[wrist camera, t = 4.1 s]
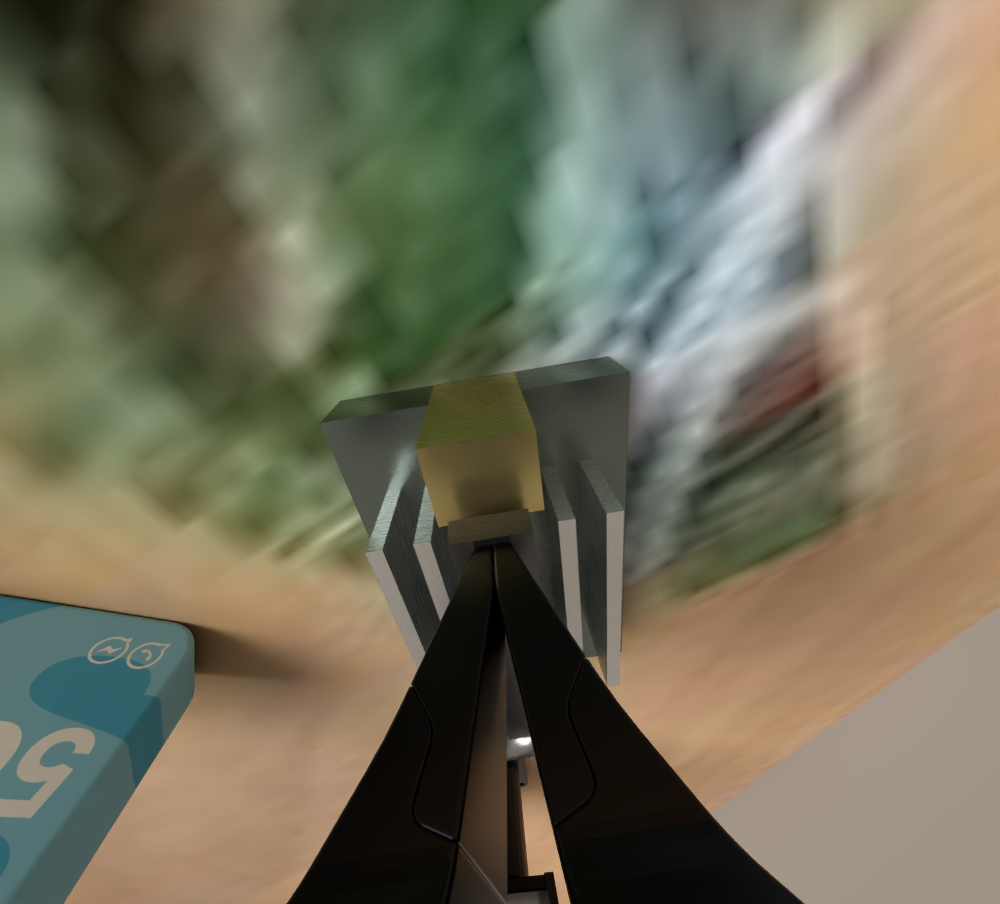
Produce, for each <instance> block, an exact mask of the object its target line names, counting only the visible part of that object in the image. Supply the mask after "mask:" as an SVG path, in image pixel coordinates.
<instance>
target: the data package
mask: <svg viewBox="0 0 1000 904" xmlns="http://www.w3.org/2000/svg"><path fill="white" fill-rule="evenodd" d="M194 667H195V642H194V637H193V634H192V633H191V631H190V630H189V629H188V628H187V627H185V626H183V625H181V624H179V623H175V622H169V621H163V620H156V619H150V618H143V617H137V616H131V615H124V614H118V613H111V612H105V611H98V610H92V609H86V608H79V607H73V606H66V605H60V604H53V603H47V602H41V601H34V600H28V599H21V598H15V597H8V596H2V595H0V904H64V902H65V900H66V899H67V897H68V896H69V894H70V893H71V891H72V889H73V888H74V886H75V885H76V883H77V881H78V880H79V878H80V877H81V875H82V874H83V872H84V870H85V869H86V867H87V866H88V864H89V862H90V861H91V859H92V858H93V856H94V854H95V853H96V851H97V850H98V848H99V847H100V845H101V843H102V842H103V840H104V839H105V837H106V835H107V834H108V832H109V831H110V829H111V828H112V826H113V824H114V823H115V821H116V820H117V818H118V816H119V815H120V813H121V812H122V810H123V808H124V807H125V805H126V804H127V802H128V801H129V799H130V797H131V796H132V794H133V793H134V791H135V789H136V788H137V786H138V785H139V783H140V782H141V780H142V778H143V777H144V775H145V774H146V772H147V770H148V769H149V767H150V766H151V764H152V762H153V761H154V759H155V758H156V756H157V755H158V753H159V751H160V750H161V748H162V747H163V745H164V743H165V742H166V740H167V739H168V737H169V736H170V734H171V732H172V731H173V729H174V728H175V726H176V724H177V723H178V721H179V720H180V718H181V716H182V715H183V713H184V712H185V710H186V709H187V707H188V705H189V703H190V702H191V699H192V697H193V694H194Z"/></svg>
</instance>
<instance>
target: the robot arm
mask: <svg viewBox="0 0 1000 904" xmlns="http://www.w3.org/2000/svg"><path fill="white" fill-rule="evenodd" d="M506 638H507V642H508V646H509V650H510V654H511V658H512V663H513V667H514V671H515V675H516V679H517V683H518V688H519V692H520V696H521V700H522V704H523V708H524V712H525V717H526V721H527V725H528V729H529V733H530V737H531V742H532V746H533V750H534V754H535V758H536V762H537V766H538V771H539V775H540V779H541V783H542V787H543V791H544V796H545V800H546V804H547V808H548V812H549V816H550V820H551V825H552V829H553V833H554V837H555V841H556V845H557V850H558V854H559V858H560V862H561V866H562V870H563V874H564V879H565V883H566V887H567V891H568V895H569V899H570V903H571V904H804V903H803V902H802V901H801V900H799V899H798V898H797V897H796V896H795V895H794V894H793V893H792V892H791V891H789V890H788V889H787V888H786V887H785V886H783V885H782V884H781V883H780V882H779V881H778V880H777V879H776V878H774V877H773V876H772V875H771V874H770V873H769V872H768V871H766V870H765V869H764V868H763V867H762V866H761V865H759V864H758V863H757V862H756V861H755V860H754V859H753V858H752V857H751V856H750V855H749V854H748V853H747V852H746V851H745V850H744V849H743V848H742V847H741V846H740V845H739V844H738V843H737V842H736V841H735V840H734V839H733V838H732V837H731V836H730V835H729V834H728V833H727V832H726V831H725V830H724V829H723V827H722V826H721V825H720V824H719V823H718V822H717V821H716V820H715V819H714V818H713V816H712V815H711V814H710V813H709V812H708V811H707V809H706V808H705V807H704V806H703V805H702V804H701V802H700V801H699V800H698V799H697V798H696V797H695V795H694V794H693V793H692V792H691V791H690V789H689V788H688V787H687V786H686V785H685V783H684V782H683V781H682V780H681V779H680V777H679V776H678V775H677V774H676V773H675V771H674V770H673V769H672V768H671V767H670V765H669V764H668V763H667V762H666V761H665V759H664V758H663V757H662V756H661V755H660V753H659V752H658V751H657V750H656V749H655V748H654V746H653V745H652V744H651V743H650V742H649V740H648V739H647V738H646V737H645V736H644V734H643V733H642V732H641V731H640V730H639V728H638V727H637V726H636V724H635V723H634V722H633V721H632V719H631V718H630V717H629V716H628V714H627V713H626V712H625V711H624V709H623V708H622V707H621V705H620V704H619V703H618V702H617V700H616V699H615V697H614V696H613V695H612V693H611V692H610V690H609V689H608V688H607V686H606V685H605V683H604V682H603V681H602V679H601V678H600V676H599V675H598V673H597V672H596V670H595V669H594V667H593V666H592V664H591V663H590V661H589V660H588V659H586V656H585V654H584V653H583V651H582V650H581V648H580V647H579V645H578V644H577V642H576V641H575V639H574V638H573V636H572V635H571V633H570V632H569V630H568V629H567V627H566V626H565V624H564V623H563V621H562V620H561V618H560V617H559V615H558V614H557V612H556V611H555V609H554V608H553V606H552V605H551V603H550V602H549V600H548V599H547V597H546V596H545V594H544V593H543V591H542V590H541V588H540V587H539V585H538V584H537V582H536V581H535V579H534V578H533V576H532V575H531V573H530V572H529V570H528V569H527V567H526V566H525V564H524V563H523V561H522V560H521V558H520V557H519V555H518V554H517V552H516V551H515V549H514V548H513V546H512V545H511V543H510V542H504V543H498V544H494V545H493V547H492V546H491V545H486V546H480V547H476V548H475V549H474V551H473V553H472V555H471V557H470V559H469V561H468V563H467V566H466V568H465V570H464V572H463V574H462V576H461V578H460V580H459V583H458V585H457V587H456V589H455V591H454V593H453V595H452V598H451V600H450V602H449V604H448V606H447V608H446V610H445V612H444V615H443V617H442V619H441V621H440V623H439V625H438V627H437V630H436V632H435V634H434V636H433V638H432V640H431V642H430V644H429V647H428V649H427V651H426V653H425V655H424V657H423V659H422V662H421V664H420V666H419V668H418V670H417V672H416V674H415V676H414V679H413V681H412V683H411V685H412V687H409V689H408V691H407V693H406V695H405V697H404V700H403V702H402V704H401V706H400V708H399V710H398V712H397V714H396V716H395V718H394V720H393V722H392V724H391V726H390V728H389V730H388V732H387V734H386V736H385V738H384V740H383V742H382V744H381V745H380V747H379V749H378V751H377V753H376V754H375V756H374V758H373V760H372V761H371V763H370V765H369V767H368V769H367V770H366V772H365V774H364V776H363V777H362V779H361V781H360V783H359V784H358V786H357V788H356V789H355V791H354V793H353V795H352V796H351V798H350V800H349V801H348V803H347V805H346V807H345V808H344V810H343V812H342V813H341V815H340V817H339V819H338V820H337V822H336V824H335V825H334V827H333V829H332V831H331V832H330V834H329V836H328V837H327V839H326V841H325V843H324V844H323V846H322V848H321V849H320V851H319V853H318V855H317V856H316V858H315V860H314V861H313V863H312V865H311V867H310V868H309V870H308V872H307V873H306V875H305V876H304V878H303V880H302V881H301V883H300V885H299V886H298V888H297V889H296V891H295V892H294V894H293V895H292V897H291V898H290V900H289V901H288V902H287V904H559V903H558V897H557V891H556V886H555V880H554V874H553V872H546V873H544V875H537V876H529V875H528V864H527V854H526V843H525V832H524V821H523V811H522V800H521V789H520V787H524V786H526V785H527V784H528V782H527V775H526V771H525V767H524V764H523V760H522V759H517V760H511V761H507V712H506Z"/></svg>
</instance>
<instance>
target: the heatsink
mask: <svg viewBox="0 0 1000 904" xmlns="http://www.w3.org/2000/svg"><path fill="white" fill-rule="evenodd" d="M628 404H629V371H628V370H626V369H625V368H624V367H622V366H621V365H619V364H618V363H617V362H615V361H614V360H612V359H611V358H610V357H602V358H596V359H590V360H584V361H578V362H572V363H566V364H560V365H554V366H548V367H542V368H536V369H530V370H524V371H518V372H512V373H506V374H500V375H494V376H488V377H482V378H476V379H470V380H464V381H458V382H452V383H446V384H440V385H434V386H428V387H422V388H416V389H410V390H404V391H398V392H392V393H386V394H380V395H374V396H368V397H362V398H356V399H350V400H344V401H340V402H339V403H338V404H337V405H336V406H335V407H334V409H333V410H332V411H331V412H330V413H329V414H328V415H327V416H326V417H325V418H324V420H323V421H322V422H321V423H320V424H321V426H322V429H323V431H324V433H325V436H326V438H327V440H328V443H329V445H330V447H331V449H332V452H333V454H334V456H335V459H336V461H337V463H338V466H339V468H340V470H341V473H342V475H343V477H344V480H345V482H346V484H347V487H348V489H349V491H350V494H351V496H352V498H353V500H354V503H355V505H356V507H357V510H358V512H359V514H360V517H361V519H362V521H363V524H364V526H365V528H366V531H367V533H368V535H369V538H370V541H369V544H368V546H367V549H366V552H365V554H366V556H367V558H368V561H369V563H370V565H371V567H372V569H373V572H374V574H375V576H376V578H377V580H378V583H379V585H380V587H381V589H382V592H383V594H384V596H385V598H386V600H387V603H388V605H389V607H390V609H391V611H392V614H393V616H394V618H395V620H396V623H397V625H398V627H399V629H400V631H401V634H402V636H403V638H404V640H405V642H406V645H407V647H408V649H409V651H410V654H411V656H412V658H413V660H414V662H415V665H416V667H417V669H418V668H419V666H420V664H421V662H422V659H423V657H424V655H425V653H426V651H427V649H428V647H429V644H430V642H431V640H432V638H433V636H434V634H435V632H436V630H437V627H438V625H439V623H440V621H441V619H442V617H443V615H444V612H445V610H446V608H447V606H448V604H449V602H450V600H451V598H452V595H453V593H454V591H455V589H456V587H457V585H458V583H459V582H458V579H457V576H456V573H455V570H454V567H453V563H452V560H451V557H450V554H449V551H448V548H447V534H448V521H454V520H460V519H466V518H472V517H478V516H484V515H491V514H497V513H503V512H509V511H515V510H521V509H527V508H528V511H529V516H530V520H531V525H532V529H533V535H534V543H535V551H536V559H537V566H538V574H539V582H540V588H541V590H542V591H543V593H544V594H545V596H546V597H547V599H548V600H549V602H550V603H551V605H552V606H553V608H554V609H555V611H556V612H557V614H558V615H559V617H560V618H561V620H562V621H563V623H564V624H565V626H566V627H567V629H568V630H569V632H570V633H571V635H572V636H573V638H574V639H575V641H576V642H577V644H578V645H579V647H580V648H581V650H582V651H583V653H584V654H585V656H586V658H587V657H593V656H598V659H599V662H600V665H601V668H602V672H603V675H604V678H605V681H606V684H607V686H613V685H619V680H620V652H621V645H622V610H623V576H624V541H625V507H626V473H627V438H628Z"/></svg>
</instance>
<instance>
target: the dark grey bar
mask: <svg viewBox="0 0 1000 904" xmlns="http://www.w3.org/2000/svg"><path fill="white" fill-rule="evenodd" d="M504 542H510V543H511V545H512V546H513V548H514V549H515V551H516V552H517V554H518V555H519V557H520V558H521V560H522V561H523V563H524V564H525V566H526V567H527V569H528V570H529V572H530V573H531V575H532V576H533V578H534V579H535V581H536V582H537V584H538V585H539V587H540V582H539V574H538V566H537V559H536V551H535V543H534V535H533V529H532V525H531V520H530V516H529V511H528V508H527V509H521V510H515V511H509V512H503V513H497V514H491V515H484V516H478V517H472V518H466V519H460V520H454V521H448V534H447V548H448V551H449V554H450V557H451V560H452V563H453V567H454V570H455V573H456V576H457V579H458V582H459V580H460V578H461V576H462V574H463V572H464V570H465V568H466V566H467V563H468V561H469V559H470V557H471V555H472V553H473V551H474V549H475V548H476V547H480V546H486V545H491V546H492V547H493V545H494V544H498V543H504ZM506 712H507V761H511V760H517V759H523V758H530V757H535V754H534V750H533V746H532V742H531V737H530V733H529V729H528V725H527V721H526V717H525V712H524V708H523V704H522V700H521V696H520V692H519V688H518V683H517V679H516V675H515V671H514V667H513V663H512V658H511V654H510V650H509V646H508V642H507V638H506Z"/></svg>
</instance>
